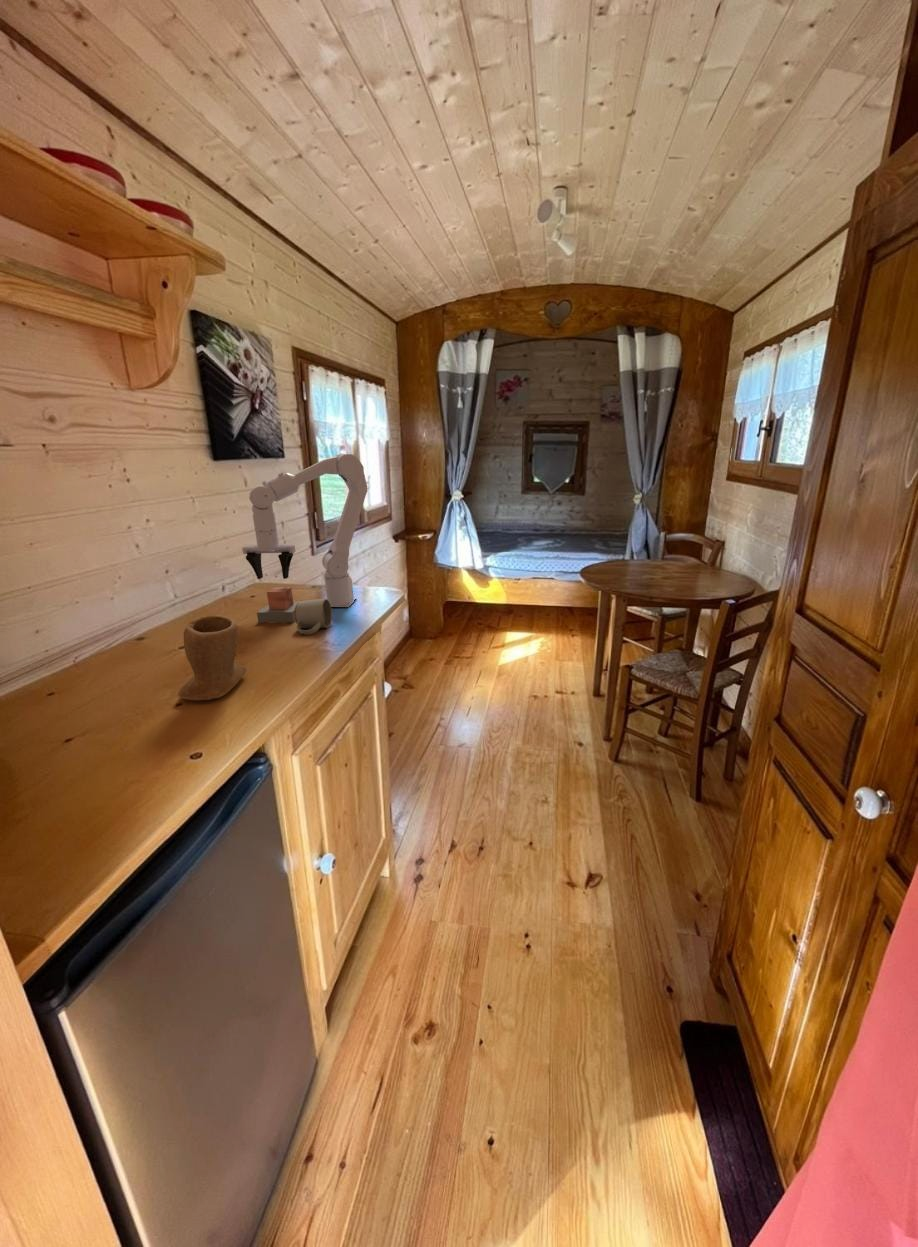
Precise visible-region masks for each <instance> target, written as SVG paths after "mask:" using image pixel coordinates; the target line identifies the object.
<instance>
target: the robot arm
mask: <svg viewBox="0 0 918 1247" xmlns="http://www.w3.org/2000/svg"><path fill="white" fill-rule="evenodd" d="M364 468H365V467H364V466H363V464H362V462H361V461H360V459H359V458H358V457H357V455H355V454H352V453H339V454H337V455H336V456H335V455H334V456H331V457H327V458H325V459H322V460H320V461H318V462H316V463H314V464H312V465H310V466H309V467H307V468H304V469H303V470H300V471H298V472H297V473H295V474H291V473H289V472H285V473H283V472H279V473H278V474H277V476H276V477H275V478H272V479H270V480H268V481H265V480H264V481H262V482H261V483H262V485H257V486H254V487H253V488H251V491H250V493H249V497H248V499H249V501H250V503H251V504H252V505H251V506H252V508H251V511H252V513H253V514H252V520H253V527H254V533H255V537H256V545H245V546H242V547H241V550H242V554H243V555H246V556H245V559H246V561H247V562H248V563H249V565H250V566H251V568H252V569H253V571H254V574H255V576H256V579H257V580H261V579H263V578H264V576H263V575H264V574H263V568H262V567H263V566H262V554H278V555H277V557H278V560H279V562H280V567H281V574H282V578H283V579H284V580H286V579H288V578H289V573H290V566H291V563H292V559H293V556H294V553H296V545H295V544H294V545H293V544H280V543H279V535H278V529H277V524H276V517H275V516H276V515H275V512H274V509H273V508H274V507H273V503H274V502H277V503H278V502H280V501H281V500H284V499H286V498H287V497H290V496H292V495H294V494H296V493H298V491H299V487H300V486H301V485H304V484H306V483H308V482H311V481H312V480H315V479H317V478H319V477H321V476H324V475H338V476H339V477H340V478H341V479H342V480H343V482H344V484H345V485H346V487H347V489H348V493H347V497H346V499H345V503H344V505H343V507H342V508H343V509H342V513H341V515H340V518H339V522H338V524H337V528H336V532H335V535H334V536H333V537H334V538H333V540H332V543H330V545H329V547H328V548H329V549H328V551H327V552H325V554H324V555H323V557H322V559H321V560H322V562H321V563H322V566H323V568H324V569H325V570H326V571H325V573H324V575H323V578H324V587H325V595H326V599H328V600H329V602H330V605H331V607H348V608H350V607H351V606H352V605H353V604H354V603H355V601H354V599H353V598H355V597H354V589H353V588H354V586H353V579H352V577H351V575H350V573H349V572H348V571H349V556H350V547H351V543H352V540H353V537H354V535H355V531H356V528H357V525H358V522H359V520H360V519H359V518H360V515H361V512H362V508H363V506H364V503H365V501H366V500H365V499H366V497H367V493H368V489H369V488H368V484H367V480H366V476H365V470H364ZM353 602H354V603H353ZM352 603H353V604H352ZM351 604H352V605H351ZM350 605H351V606H350ZM349 606H350V607H349Z"/></svg>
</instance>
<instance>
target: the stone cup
mask: <svg viewBox="0 0 918 1247" xmlns="http://www.w3.org/2000/svg"><path fill="white" fill-rule="evenodd" d="M238 646H239V631H238V626H237V623H236V621H235V620H234V619H233V618H230V617H229V616H225V615H220V614H219V615H218V614H209V615H202V616H199V617H196V618H194V619H192V620H190V621H189V622H188V624H187V625H186V626H185V627H184V631H183V649H184V652H185V656H186V659H187V661H188V663H189V664H190V666H191V669H192V672H193V676H192V677H191V678H189V680H188V681H186V682H185V683H184V684H183V685H182V686H181V688H179V690H178V692H177V696H178V698H180V699H181V700H182V699H183V700H188V701H198V702H199V701H210V700H215V699H219V698H222V697H223V696H225V695H227V693H229V692H230V691H231V690H232V689H233V688H234V687H236V685H237V684H238V682H239V681H240V680H241V678H242V677H243V676H244V675H245V674H246V673H247V670H248V669H247V667H245V666H243V665H240V664H238V663H237V662H235V660H236V659H235V658H236V654H237V648H238Z"/></svg>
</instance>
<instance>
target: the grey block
mask: <svg viewBox="0 0 918 1247" xmlns="http://www.w3.org/2000/svg"><path fill="white" fill-rule="evenodd" d="M298 602H299V601H293V605H292V606H290V607H289V608H287V609H269V604H267V605H266V606H264V607H263V608H261V609H259V610H258V611H257V612H256V617H257V623H258V624H265V623H264V622H293V621H295V617H294V610H295V606H296V604H297V603H298ZM262 622H263V623H262ZM295 622H296V621H295ZM293 623H294V622H293Z"/></svg>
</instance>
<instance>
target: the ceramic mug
mask: <svg viewBox="0 0 918 1247" xmlns="http://www.w3.org/2000/svg"><path fill="white" fill-rule="evenodd" d="M297 602H298V603H297V604H296V606H295V610H294V617H295V623H296V629H297V631H298V633H299V634H300V635H302V634H310V635H313V634H315V633H316V632H318V630H320V629H328V628H329V627H330V626H331V624H332V620H333V611H332V609H333V608H331V605H330V602H329V600H328V599H327V598H318V599H307V600H302V601H297ZM301 628H304V629H305V630H302V629H301Z"/></svg>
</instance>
